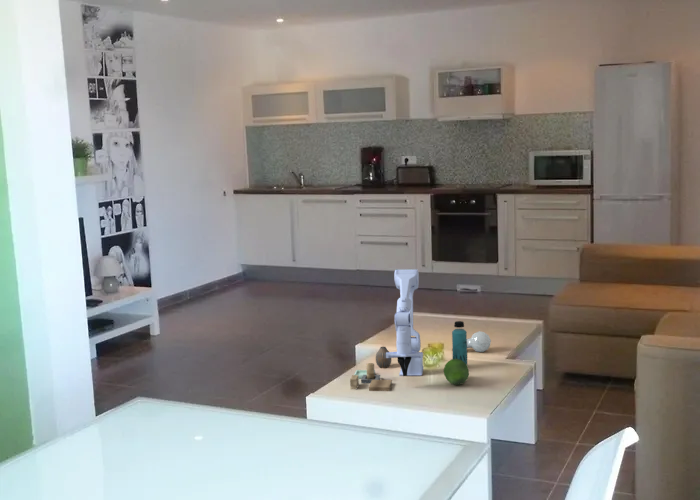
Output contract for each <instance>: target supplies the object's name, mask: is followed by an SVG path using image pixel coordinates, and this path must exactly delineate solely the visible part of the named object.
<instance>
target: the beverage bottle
mask: <svg viewBox="0 0 700 500" xmlns="http://www.w3.org/2000/svg"><path fill="white" fill-rule="evenodd" d="M453 326H454V328H455V329H453V330H452V332H451V340H452V350H451V351H452V352H451V353H452V356H451V357H452V359H460V360H462V361H464V362H465V363H466V365H467V364H468V348H467V339H468V337H467V331H466V330H465V328H464V327H465V323H464V321H463V320H457V321H454V325H453ZM467 366H468V365H467Z"/></svg>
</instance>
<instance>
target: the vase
mask: <svg viewBox="0 0 700 500" xmlns="http://www.w3.org/2000/svg"><path fill="white" fill-rule="evenodd" d="M386 352H390V351H389V350H388V349H387V347H386V346H380V347H379V349H378V351H377V352H376V355H375V363H376V365H377V366H378V367H379V368H381V369H386V368H389V367H390V365H391V364H392V358H386Z"/></svg>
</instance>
